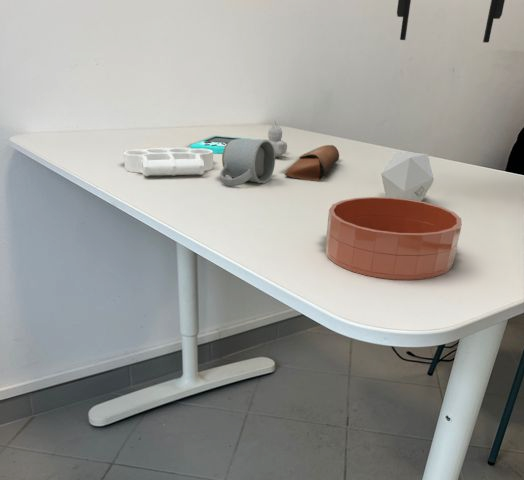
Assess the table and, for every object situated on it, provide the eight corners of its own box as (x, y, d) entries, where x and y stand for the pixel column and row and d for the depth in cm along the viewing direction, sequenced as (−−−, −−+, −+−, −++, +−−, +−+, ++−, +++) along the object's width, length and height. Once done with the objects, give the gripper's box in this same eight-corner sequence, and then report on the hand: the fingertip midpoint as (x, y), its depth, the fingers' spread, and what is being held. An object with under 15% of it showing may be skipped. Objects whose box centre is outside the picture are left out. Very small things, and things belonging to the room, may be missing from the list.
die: (407, 216, 88) (450, 165, 85) (365, 182, 89) (406, 131, 86) (407, 221, 96) (446, 174, 94) (368, 190, 97) (406, 143, 94)
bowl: (452, 243, 75) (460, 204, 72) (452, 288, 61) (463, 241, 59) (337, 230, 79) (341, 192, 76) (314, 268, 65) (317, 224, 63)
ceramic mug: (240, 173, 109) (240, 132, 105) (275, 179, 105) (276, 137, 101) (209, 184, 101) (208, 141, 97) (246, 190, 97) (246, 146, 93)
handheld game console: (188, 150, 128) (188, 144, 127) (214, 140, 141) (214, 134, 141) (228, 154, 126) (228, 148, 125) (250, 143, 139) (250, 138, 138)
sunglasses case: (301, 158, 121) (318, 132, 117) (326, 177, 122) (344, 151, 118) (282, 175, 106) (301, 145, 102) (311, 196, 107) (330, 168, 103)
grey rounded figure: (278, 154, 127) (280, 117, 123) (292, 159, 122) (294, 121, 118) (258, 155, 125) (259, 118, 121) (271, 161, 120) (273, 122, 116)
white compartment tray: (126, 179, 101) (124, 163, 113) (220, 177, 105) (208, 161, 118) (125, 161, 100) (122, 147, 112) (220, 159, 104) (208, 145, 116)
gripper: (556, -118, 81) (519, 43, 91) (389, -112, 87) (371, 39, 97) (566, -133, 75) (525, 42, 85) (385, -126, 80) (367, 38, 91)
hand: (443, 41), depth 91 cm, fingers open, 13 cm apart
